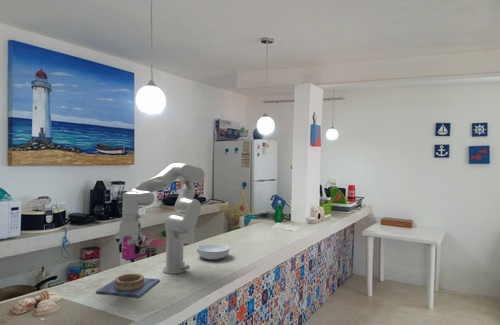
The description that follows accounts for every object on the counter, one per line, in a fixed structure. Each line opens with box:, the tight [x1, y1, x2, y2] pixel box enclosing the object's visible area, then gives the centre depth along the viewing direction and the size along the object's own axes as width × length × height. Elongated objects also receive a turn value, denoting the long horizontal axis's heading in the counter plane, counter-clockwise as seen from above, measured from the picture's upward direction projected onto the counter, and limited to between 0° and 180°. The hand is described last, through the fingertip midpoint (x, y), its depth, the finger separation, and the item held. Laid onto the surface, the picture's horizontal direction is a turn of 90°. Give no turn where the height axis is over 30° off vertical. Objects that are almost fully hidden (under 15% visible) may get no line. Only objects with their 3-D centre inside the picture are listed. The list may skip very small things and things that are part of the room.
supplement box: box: [120, 236, 138, 262], centre depth 181 cm, size 6×6×12 cm
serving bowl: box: [196, 242, 230, 261], centre depth 236 cm, size 21×21×7 cm
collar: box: [95, 272, 161, 298], centre depth 182 cm, size 22×22×4 cm
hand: (129, 252), depth 181 cm, fingers closed on supplement box, 7 cm apart
